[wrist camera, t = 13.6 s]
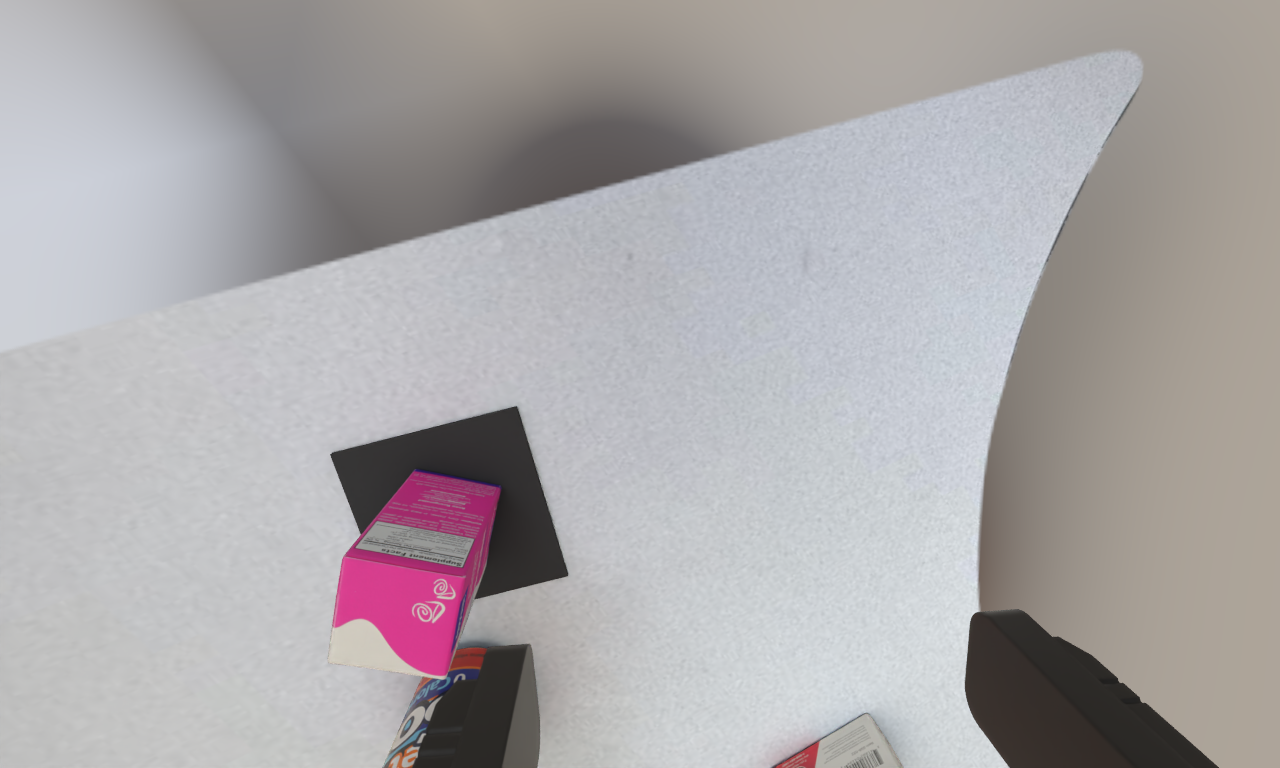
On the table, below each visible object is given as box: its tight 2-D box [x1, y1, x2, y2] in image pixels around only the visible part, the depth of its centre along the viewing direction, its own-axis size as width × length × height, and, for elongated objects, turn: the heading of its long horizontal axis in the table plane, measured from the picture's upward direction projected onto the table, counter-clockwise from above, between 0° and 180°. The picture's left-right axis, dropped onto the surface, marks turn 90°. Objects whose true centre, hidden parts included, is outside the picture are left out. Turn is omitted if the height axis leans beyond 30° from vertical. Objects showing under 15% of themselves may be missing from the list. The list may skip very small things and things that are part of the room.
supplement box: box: [328, 469, 502, 680], centre depth 34 cm, size 6×6×12 cm
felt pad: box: [330, 407, 568, 599], centre depth 40 cm, size 12×12×1 cm
